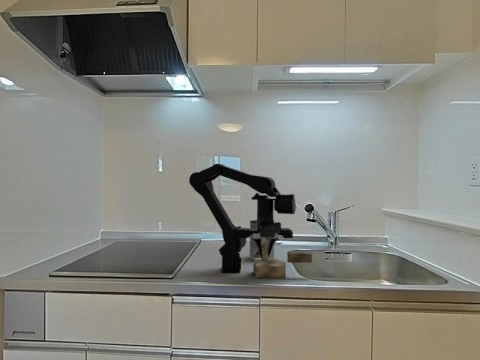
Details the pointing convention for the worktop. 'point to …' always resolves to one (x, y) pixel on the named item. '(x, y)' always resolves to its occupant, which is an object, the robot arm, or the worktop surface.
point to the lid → (268, 260)
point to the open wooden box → (269, 271)
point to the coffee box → (253, 247)
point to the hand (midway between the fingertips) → (264, 257)
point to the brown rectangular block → (299, 257)
